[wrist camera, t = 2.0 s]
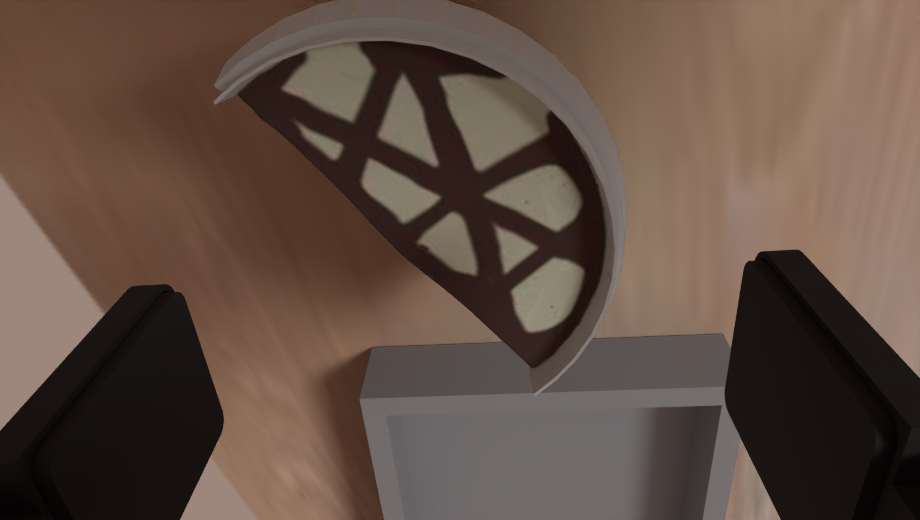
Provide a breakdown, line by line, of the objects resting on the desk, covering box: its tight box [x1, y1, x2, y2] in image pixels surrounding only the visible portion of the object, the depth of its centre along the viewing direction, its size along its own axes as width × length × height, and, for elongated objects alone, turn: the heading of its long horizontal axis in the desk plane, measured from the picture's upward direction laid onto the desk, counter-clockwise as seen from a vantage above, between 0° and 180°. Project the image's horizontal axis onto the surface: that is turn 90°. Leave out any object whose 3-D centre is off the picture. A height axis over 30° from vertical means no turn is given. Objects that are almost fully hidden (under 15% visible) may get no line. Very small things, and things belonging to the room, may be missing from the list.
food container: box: [213, 0, 626, 396], centre depth 19 cm, size 12×6×10 cm, turn 42°
